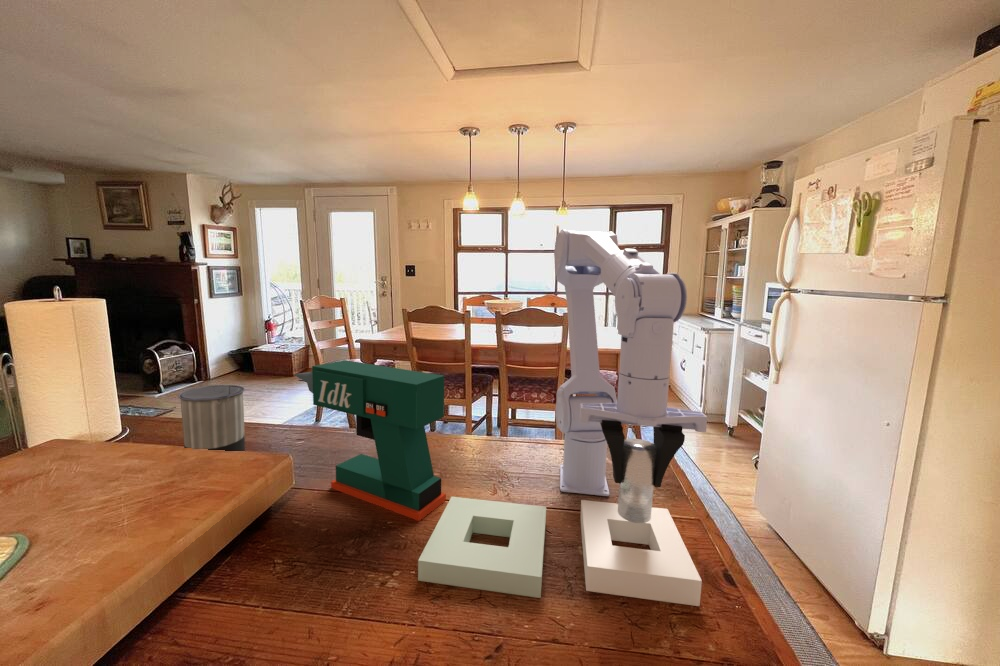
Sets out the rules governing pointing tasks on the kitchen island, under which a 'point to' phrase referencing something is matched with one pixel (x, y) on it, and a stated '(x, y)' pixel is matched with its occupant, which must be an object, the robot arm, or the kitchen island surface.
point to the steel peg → (637, 480)
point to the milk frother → (213, 418)
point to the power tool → (385, 432)
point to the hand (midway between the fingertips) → (636, 481)
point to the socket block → (487, 547)
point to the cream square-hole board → (637, 556)
